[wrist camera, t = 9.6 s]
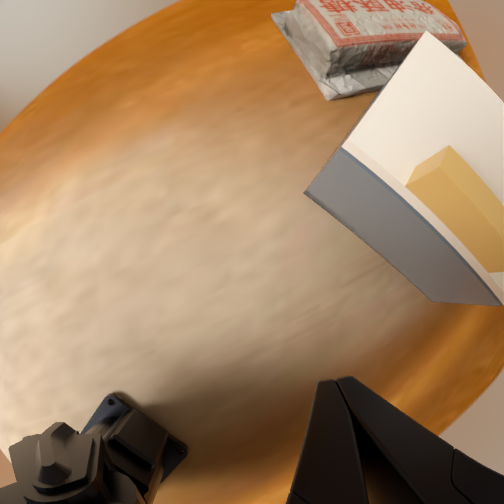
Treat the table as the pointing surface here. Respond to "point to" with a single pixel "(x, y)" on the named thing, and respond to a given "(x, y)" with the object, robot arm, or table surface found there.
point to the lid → (442, 152)
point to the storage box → (396, 229)
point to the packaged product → (360, 39)
